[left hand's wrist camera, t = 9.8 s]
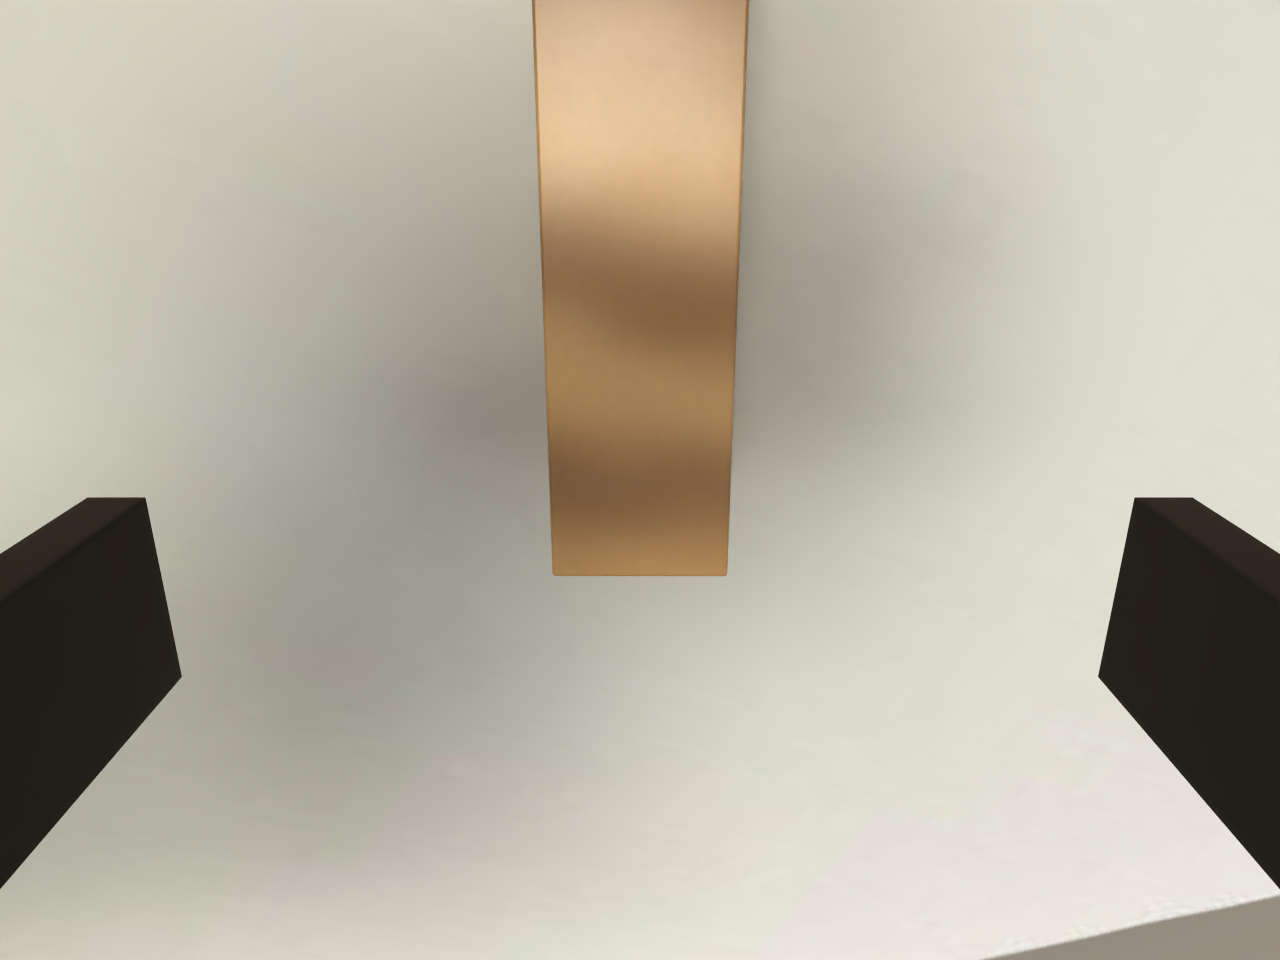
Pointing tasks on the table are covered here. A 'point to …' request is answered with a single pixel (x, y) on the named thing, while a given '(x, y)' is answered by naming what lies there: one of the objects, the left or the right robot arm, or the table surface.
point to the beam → (640, 277)
